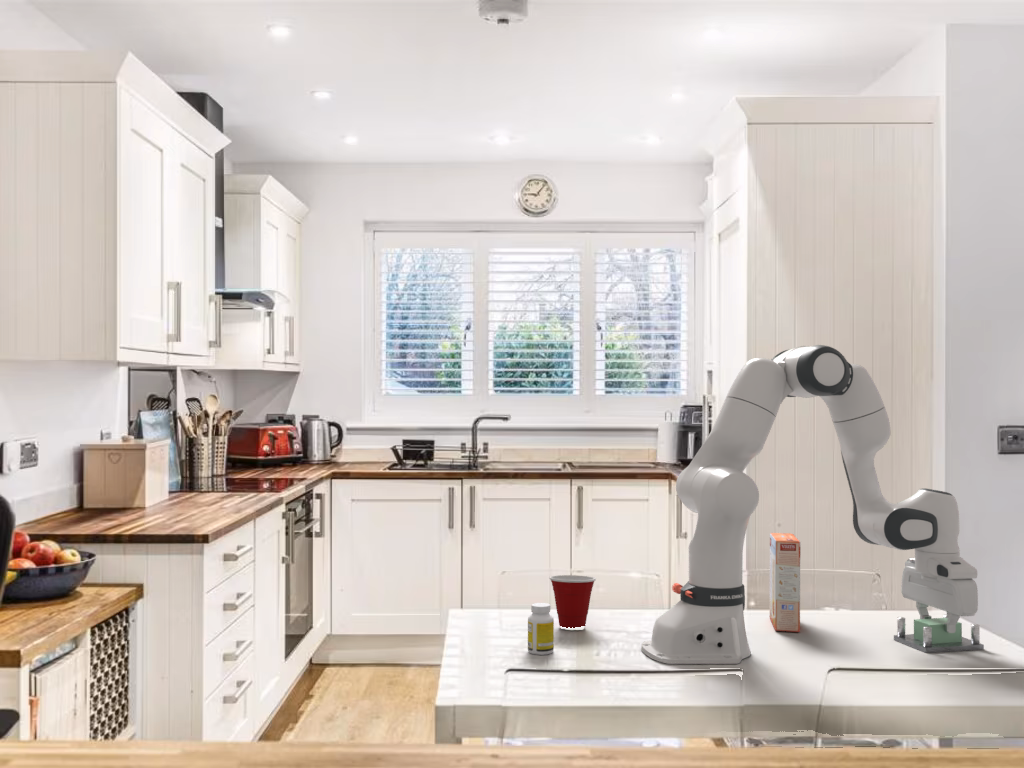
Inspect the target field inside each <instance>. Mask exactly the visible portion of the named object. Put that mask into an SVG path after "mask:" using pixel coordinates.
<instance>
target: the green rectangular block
mask: <svg viewBox="0 0 1024 768" xmlns="http://www.w3.org/2000/svg"><path fill="white" fill-rule="evenodd" d="M947 620H948V618H943V617H936V618H932V617H931V619H920V618H917V619H915V618H914V619H913V634H914V638H915V639H918V640H921V641H923V627H925V626H927V627H931V628H932V644H936V643H951V642H962V637H963V635H962V634H963V631H962V629H963V624H962V623H963V622H960V621H958V622H957V624H956V632H955V633H948V632H945V631H944V623H947Z"/></svg>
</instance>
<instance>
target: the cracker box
mask: <svg viewBox="0 0 1024 768" xmlns="http://www.w3.org/2000/svg"><path fill="white" fill-rule="evenodd" d="M769 619H770V622H771V625H773V628H774V631H775V632H785V631H786V632H787V633H801V541H800V540H799V539H798V538H797V537H796V535H795V534H793V533H790V532H788V533H787V532H770V533H769Z"/></svg>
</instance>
